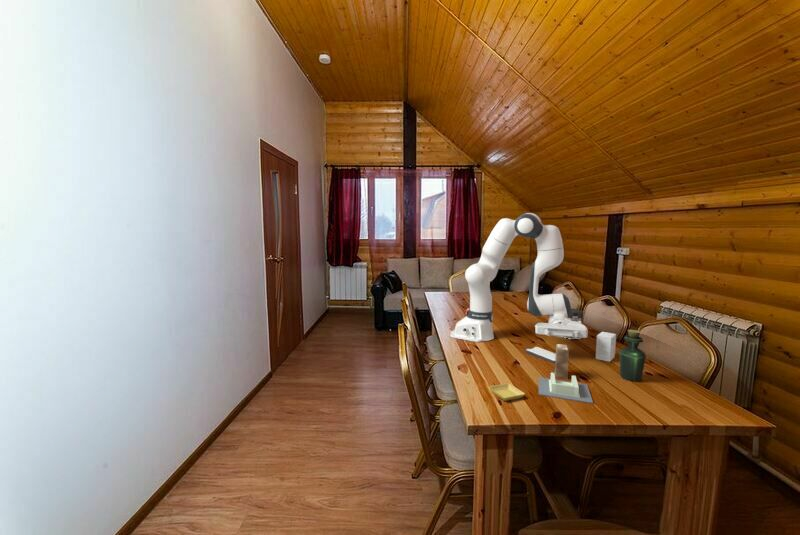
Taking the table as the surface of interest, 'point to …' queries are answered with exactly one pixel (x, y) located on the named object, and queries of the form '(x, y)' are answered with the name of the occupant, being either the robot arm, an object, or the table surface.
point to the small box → (605, 346)
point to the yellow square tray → (506, 391)
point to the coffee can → (575, 318)
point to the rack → (564, 387)
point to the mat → (545, 391)
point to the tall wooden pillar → (561, 361)
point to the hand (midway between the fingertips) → (561, 335)
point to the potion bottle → (632, 357)
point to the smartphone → (541, 354)
